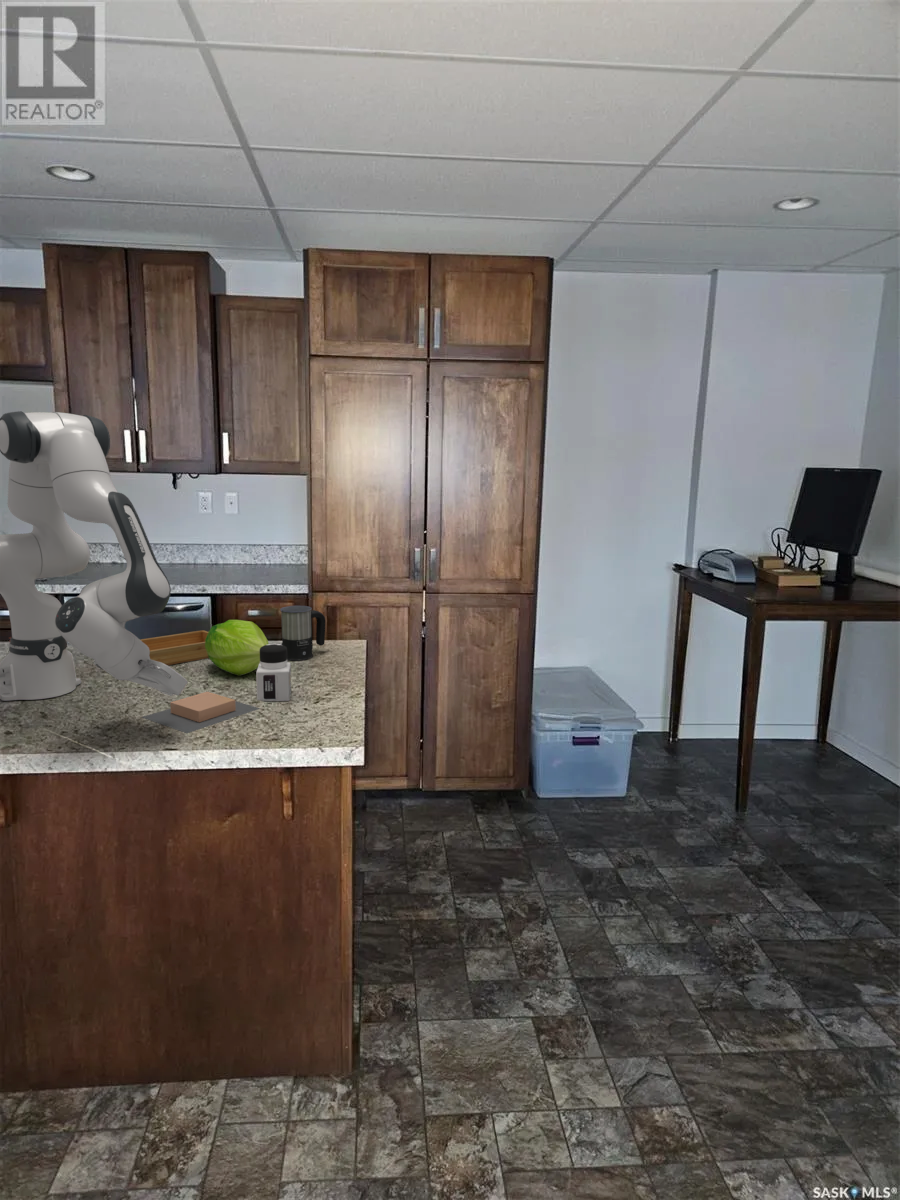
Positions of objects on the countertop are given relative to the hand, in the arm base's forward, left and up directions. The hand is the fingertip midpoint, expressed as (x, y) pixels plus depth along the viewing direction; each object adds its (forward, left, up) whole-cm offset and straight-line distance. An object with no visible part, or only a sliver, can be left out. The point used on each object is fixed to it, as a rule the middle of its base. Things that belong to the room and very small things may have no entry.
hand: (170, 692), depth 159 cm
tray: (-47, +32, -8) cm, 58 cm away
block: (0, +3, -6) cm, 6 cm away
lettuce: (-21, +36, -8) cm, 42 cm away
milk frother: (-23, +59, -8) cm, 64 cm away
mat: (0, +8, -7) cm, 11 cm away
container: (+3, +27, -8) cm, 28 cm away
